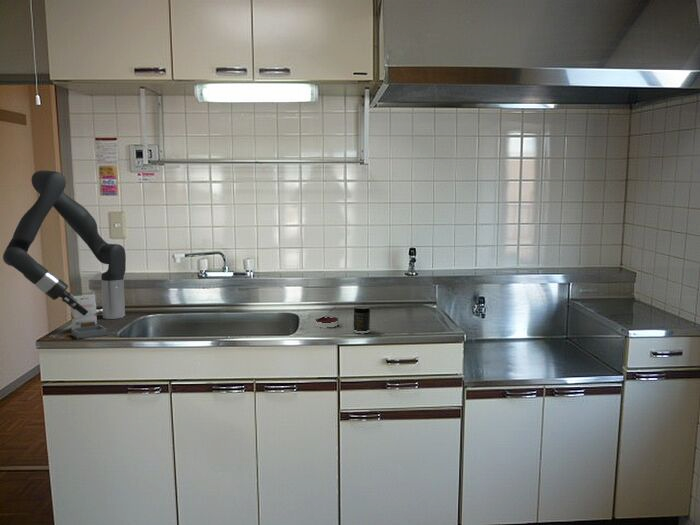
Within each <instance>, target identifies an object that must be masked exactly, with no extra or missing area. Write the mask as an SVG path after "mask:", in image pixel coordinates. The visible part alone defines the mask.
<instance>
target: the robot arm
mask: <svg viewBox="0 0 700 525" xmlns="http://www.w3.org/2000/svg"><path fill="white" fill-rule="evenodd" d="M31 185H32V187H33V189H34V190H35V191H36V192H37V193H38V195H39V196H38V197H37V200H36V201H35V202H34V204H33V205H32V206H31V207H30V208H29V209H28V210H27V211H26V212H25V213H24V214H23V216H22V217H21V218H20V220H19V222H18V224H17V226H16V229H15V230H14V233H13V235H12V238H11V239H10V241H9V242H8V245H7V246H6V248H5V250H4V252H3V253H2V254H3V255H2V260H3V261H4V263H5V264H6V265H8V266H9V267H10V266H11V267H13V268H14V269H16V270H17V271H18V272H20V273H21V274H22V275H23V277H24V278H25V279H27V280H28V281H29V282H31V283H32V284H33V285H34V286H35V287H37V289H39V290H40V291H41V292H42V293H44V294H45V295H47V296H48V297H49V298H50V299H51V300H53V301H55V300H57V299H58V298H61V302H63V303H64V304H66V305H67V306H68V307H70V308H71V307H72V308H73V309H75V310H77V311H79V312H80V313H81V314H82V315H86V314H87V313H88V311H87V310H86V309H85V308H83V307H82V306H81V305H80V304H79V303H78V302H77V300H76V299H75V298H74V297H73V296H74V295H73V294H72V293H71V292H68V291H67V290H68V288H69V285H68V284H67V283H66V282H64V281H63V280H62V279H60V278H59V277H58V276H57V275H55V274H54V273H52V272H51V271H49V270H48V269H46V268H45V267H44V266H43V265H41V264H40V263H39V262H38V261H36V260H35V258H34V257H32V256H31V255H30V254H29V253H28V251H29V249H30V246H31V245H32V244H33V242H34V241H35V239H36V237H37V235H38V233H39V230H40V228H41V226H42V224H43V222H44V220H45V218H46V217H47V216H48V214H49V212H50V211H51V210H52V208H54V209H55V210H56V212H57V213H58V214H59V215H60V216H61V218H63V219H64V221H65V222H66V223H67V224H68V225H69V226H70V228H72V230H73V231H74V232H75V233H76V234H77V235H78V236H79V237H80V239H81V240H82V241H83V242H84V243H85V244H86V245H87V247H88V248H89V249H90V251H91V252H92V253H93V255H94V257H95V258H96V259H97V260H98V261H99V262H100V263H101V264H104V265H108V268H107V270H106V271H104V272H103V273H101V276H100V278H101V301H102V319H105V320H114V319H122V318H125V317H126V308H125V307H126V305H125V303H126V300H125V279H124V278H125V277H124V276H125V273H126V266H127V265H126V263H127V261H126V259H127V255H126V250H125V247H124V246H122V245H121V244H117V243H107V242H106V241H105V240H104V239H103V238H102V237H101V236H100V234H99V232H98V231H99V230H98V224H97V222H96V219H95V218H94V216H92V214H90V212H89V211H88V209H87V208H85V207H84V206H83V205H82V204H80V203H79V202H78V201H76V200H74V199H73V198H71V197H70V196H69V195H68V194H67V193H65V191H64V190H65V188H66V185H67V181H66V178H65V176H64V175H63V173H61V172H59V171H54V170H45V169H44V170H43V169H42V170H37V171H35V172H34V173H33V174H32V176H31ZM73 299H74V300H73ZM75 303H76V305H75V306H74V304H75ZM124 316H125V317H124Z"/></svg>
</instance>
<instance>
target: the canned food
mask: <svg viewBox="0 0 700 525" xmlns="http://www.w3.org/2000/svg"><path fill="white" fill-rule="evenodd" d="M336 308H337V307H336V306H335V307H333V308H332V309H330V310H329V311H328V312H326V313H324V314H321V315H320V316H318V317H316V318H315V319H314V320H316V321H317V322H322V323H331V322H336V321H338V322H339V318H338V317H336V316H335V317H334V316H332V317H333V318H330V317H331V316H327V315H328V314H329V313H330V312H332V311H333V310H335V309H336ZM325 317H327V318H325Z"/></svg>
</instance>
